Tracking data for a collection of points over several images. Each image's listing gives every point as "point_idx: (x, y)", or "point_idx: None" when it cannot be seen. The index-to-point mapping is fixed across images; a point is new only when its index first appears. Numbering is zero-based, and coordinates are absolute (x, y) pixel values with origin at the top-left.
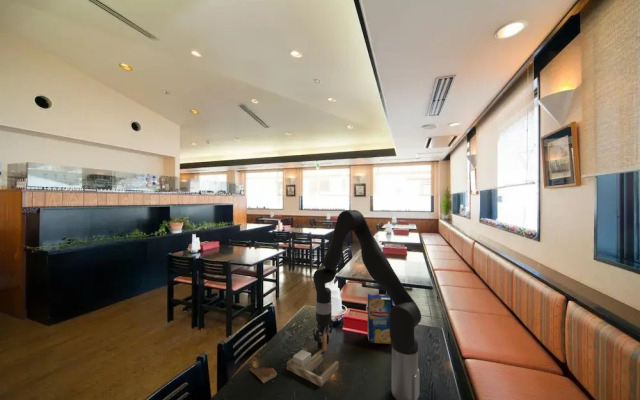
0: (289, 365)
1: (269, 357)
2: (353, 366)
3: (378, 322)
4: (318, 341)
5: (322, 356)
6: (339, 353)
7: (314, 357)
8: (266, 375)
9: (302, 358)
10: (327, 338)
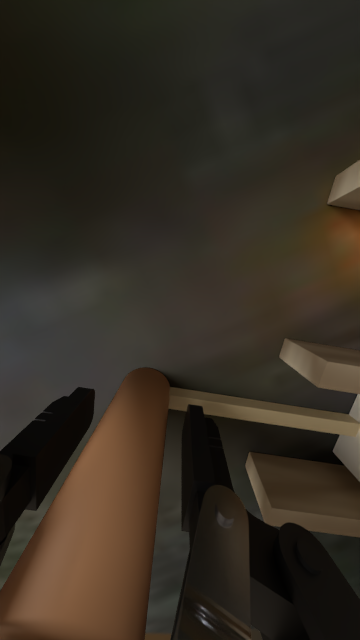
0: None
1: None
2: (252, 32)
3: None
4: (331, 564)
5: (315, 354)
6: (123, 255)
7: (273, 406)
8: None
9: None
10: (54, 441)
